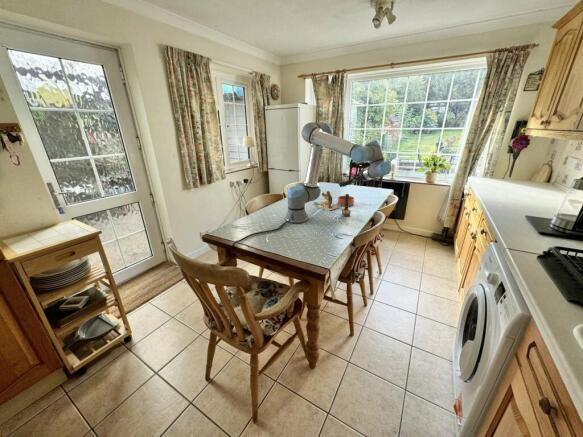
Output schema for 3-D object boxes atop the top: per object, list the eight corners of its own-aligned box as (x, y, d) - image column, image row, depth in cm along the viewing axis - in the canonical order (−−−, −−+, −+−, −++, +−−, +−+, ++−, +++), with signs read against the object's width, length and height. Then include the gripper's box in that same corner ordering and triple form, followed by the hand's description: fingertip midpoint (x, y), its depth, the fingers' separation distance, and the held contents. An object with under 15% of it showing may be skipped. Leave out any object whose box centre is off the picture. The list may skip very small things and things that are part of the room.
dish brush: (350, 216, 170) (351, 195, 164) (344, 217, 169) (345, 195, 163) (347, 213, 175) (348, 193, 170) (341, 214, 175) (342, 193, 169)
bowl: (343, 207, 189) (344, 201, 187) (334, 203, 200) (334, 196, 198) (357, 205, 194) (357, 198, 192) (347, 201, 205) (347, 194, 203)
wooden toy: (338, 208, 187) (339, 191, 182) (329, 211, 181) (330, 194, 176) (319, 202, 204) (320, 186, 199) (310, 204, 198) (311, 188, 193)
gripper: (354, 188, 133) (335, 193, 153) (385, 171, 141) (363, 178, 161) (349, 176, 132) (330, 183, 152) (380, 160, 140) (358, 168, 160)
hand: (347, 180), depth 157 cm, fingers open, 13 cm apart
